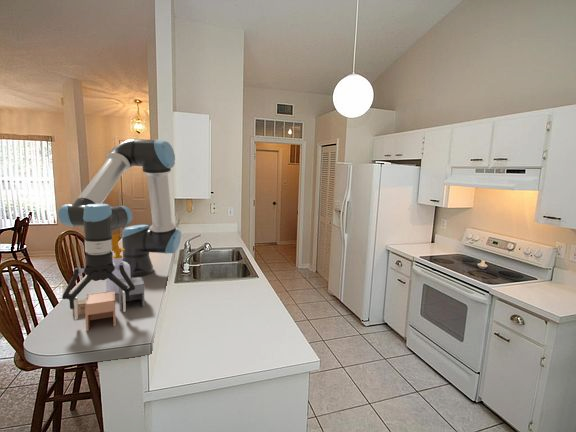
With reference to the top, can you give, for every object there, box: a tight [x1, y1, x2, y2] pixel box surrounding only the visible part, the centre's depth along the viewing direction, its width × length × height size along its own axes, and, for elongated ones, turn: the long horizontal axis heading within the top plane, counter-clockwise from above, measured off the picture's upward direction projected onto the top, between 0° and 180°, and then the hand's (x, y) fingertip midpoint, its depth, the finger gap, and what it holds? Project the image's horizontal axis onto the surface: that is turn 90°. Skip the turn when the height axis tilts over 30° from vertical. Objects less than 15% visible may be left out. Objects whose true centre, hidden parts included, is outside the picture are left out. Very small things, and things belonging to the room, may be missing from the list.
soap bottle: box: [105, 232, 132, 295], centre depth 128 cm, size 9×9×25 cm
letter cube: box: [72, 298, 86, 317], centre depth 109 cm, size 4×4×4 cm
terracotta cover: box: [84, 291, 117, 332], centre depth 102 cm, size 8×8×9 cm
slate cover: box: [118, 276, 145, 311], centre depth 117 cm, size 8×8×9 cm
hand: (101, 313), depth 102 cm, fingers open, 13 cm apart
